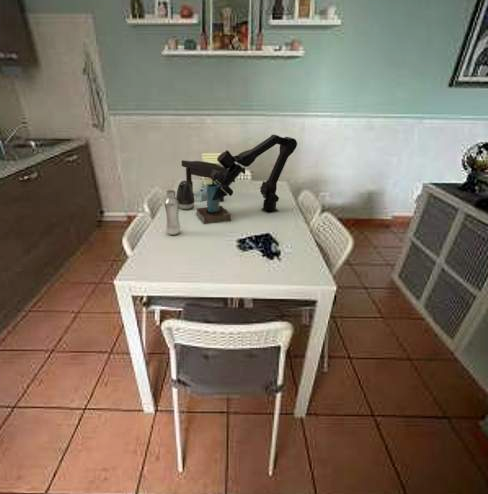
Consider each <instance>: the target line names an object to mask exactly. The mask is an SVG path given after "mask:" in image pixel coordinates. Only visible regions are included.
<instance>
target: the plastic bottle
mask: <svg viewBox="0 0 488 494" xmlns="http://www.w3.org/2000/svg"><path fill="white" fill-rule="evenodd" d="M163 205H164V210H165V214H166V227H165V230H166V232H167V234H168V235H171V236H174V235H175V236H176V235H178V234H180V232H181V230H182V229H181V223H180V218H179V217H180V216H179V209H180V207H179V202H178V200H177V198H176V191H175V190H174V189H169V190H167V191H166V198H165V200H164V202H163Z"/></svg>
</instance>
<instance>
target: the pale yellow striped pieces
mask: <svg viewBox="0 0 488 494" xmlns="http://www.w3.org/2000/svg"><path fill="white" fill-rule="evenodd" d="M220 154H222V153H221V152H204V153H203V152H202V153H201V160H202V162H209V163H214V164H217V165H220V166H222V165H221V164H220V163H219V162H218V161H217V158H218V157H219V155H220ZM222 167H223V166H222ZM228 169H229V168H228ZM202 183H203V184H202V185H206V184H209V183H210V184H212V180H211V178H209V179H203V180H202Z"/></svg>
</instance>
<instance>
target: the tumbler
mask: <svg viewBox="0 0 488 494" xmlns="http://www.w3.org/2000/svg"><path fill="white" fill-rule="evenodd" d="M218 186H219V185H218V184H208V185H207V199H206V207H207V211H208V212H218V211H219V206H220V201H219V199H217V200H214V201H213V200H212V198H213V197H214V195H215V194H216V192H217V191H218Z"/></svg>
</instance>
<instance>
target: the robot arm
mask: <svg viewBox="0 0 488 494" xmlns="http://www.w3.org/2000/svg"><path fill="white" fill-rule="evenodd" d="M276 145H279V153H278V155H277V158H276V161H275V163H274V165H273V168H272V170H271V172H270V175H269V176H268V179H267V180H266V181H265V180H263V181H262V183H261V186H260V187H259V189H260V190H259V192H260V195H262V198H263V204H262V208H261V211H263V212H265V213H267V214H270V213H275V212H278V209H277V203H278V202H279V200H280V197H279V196H278V195H277V194H276V193H277V183H278V181H279V179H280V176H281V175H282V172H283V170H284V168H285V166H286V163H287V161H288V158H289V157H290V156H291V155H293V153H294V152H295V150H296V148H297V146H298V141H297V139H296V138H293V137H290V136H284V137H282V136H280V135H278V134H271V135H270V136H269V137H268V138H267V139H264V140H263V141H262V142H260V143H259V144H257V145H255V146H254V147H253V148H251V149H247V150H243V151H242V152H240V153H238V155H237V154H236V155H233V154H231V152H230V150H228V149H226V150H225V151H223V152H222V153H221V154H220V155H219V157H218V158H217V161H218V162H219V163H220V164H221V165H222V166H223V167H224V168H229V169H228V170H227V171H226V172H225V171H224V172H220V171H216V170H212V172H211V176H212V178H210V179H211V180H212V184H218V185H219V186H218V191H217V192H216V194H215V195H214V197H213V198H212V200H213V201H214V200H217V199H219V198H221V197H224V198H225V197H226V196H227V197H228V196H229V197H231V196H232V195H233V194H234V190H233V189H232V187H230V186H231V185H232V183H235V182H236V179H237V177H239V176H240V174H241V173H242V174H243V175H246V168H247V167H249V166H251V165H252V164H253V163H254V162H255V160H256V159H257V158H258V157H259V156H261V155H262V154H264V153H266V152H267V151H269V150H270V149H271V148H273V147H275V146H276ZM236 163H237V164H236ZM220 187H221V188H220Z"/></svg>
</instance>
